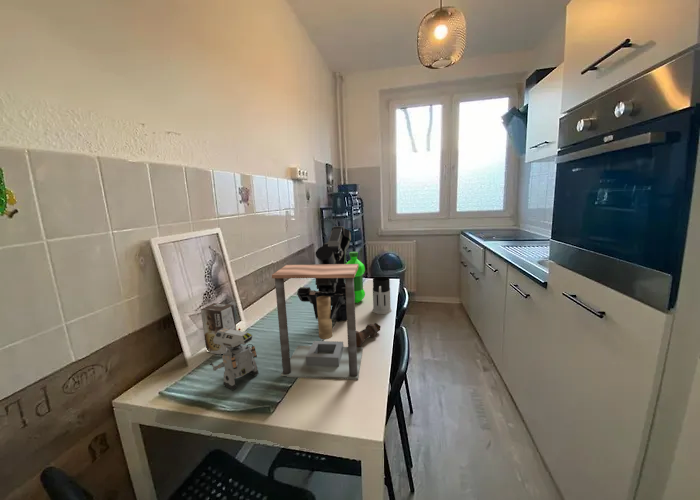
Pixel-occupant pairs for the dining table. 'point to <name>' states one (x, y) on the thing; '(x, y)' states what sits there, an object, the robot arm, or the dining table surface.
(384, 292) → the glass holder
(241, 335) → the figurine
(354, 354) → the post and lintel frame
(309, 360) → the socket
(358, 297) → the plastic bottle
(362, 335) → the bolt
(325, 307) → the peg
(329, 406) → the dining table surface
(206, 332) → the coffee box
